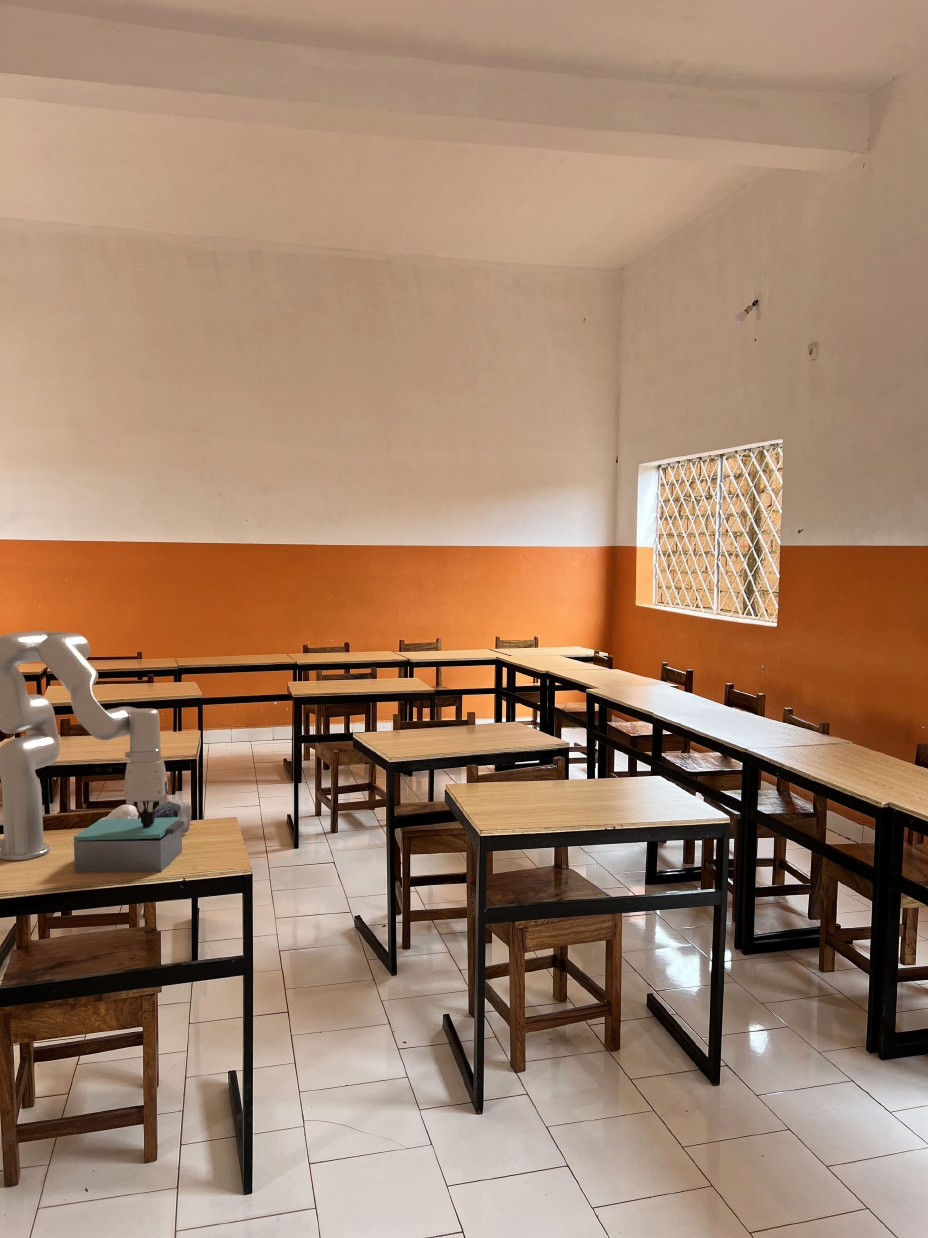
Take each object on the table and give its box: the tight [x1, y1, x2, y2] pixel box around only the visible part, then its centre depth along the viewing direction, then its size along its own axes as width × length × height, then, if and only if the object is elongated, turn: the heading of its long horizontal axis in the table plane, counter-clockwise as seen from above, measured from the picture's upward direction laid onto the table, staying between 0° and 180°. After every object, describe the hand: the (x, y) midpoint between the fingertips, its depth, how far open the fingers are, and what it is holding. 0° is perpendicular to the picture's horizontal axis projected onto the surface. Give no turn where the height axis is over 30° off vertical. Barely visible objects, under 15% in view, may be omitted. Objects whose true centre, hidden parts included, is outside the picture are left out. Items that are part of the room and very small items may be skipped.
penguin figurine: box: [98, 804, 139, 821], centre depth 263 cm, size 6×8×12 cm
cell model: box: [154, 797, 192, 834], centre depth 256 cm, size 13×11×20 cm
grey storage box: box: [73, 828, 183, 874], centre depth 236 cm, size 22×16×8 cm
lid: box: [73, 817, 184, 842], centre depth 236 cm, size 24×16×1 cm, turn 89°
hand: (148, 826), depth 236 cm, fingers closed
